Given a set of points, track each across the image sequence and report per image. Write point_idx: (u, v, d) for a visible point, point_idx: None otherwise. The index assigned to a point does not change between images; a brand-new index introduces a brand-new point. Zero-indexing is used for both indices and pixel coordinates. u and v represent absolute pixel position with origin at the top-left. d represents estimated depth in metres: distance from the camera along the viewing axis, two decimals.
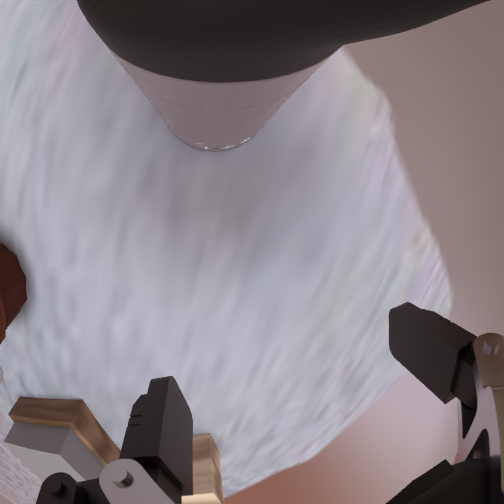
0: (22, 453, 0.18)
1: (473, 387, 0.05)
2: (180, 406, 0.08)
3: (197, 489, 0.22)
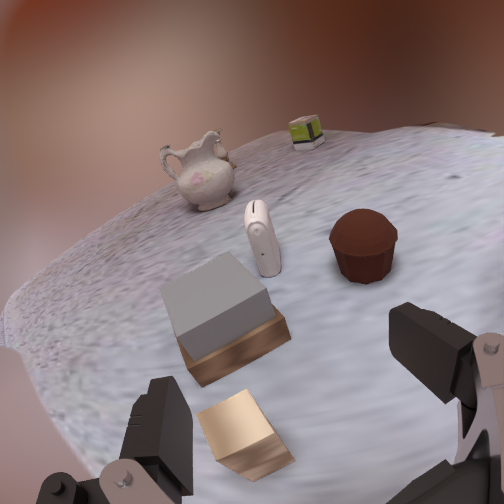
0: (225, 264, 0.40)
1: (473, 387, 0.05)
2: (180, 406, 0.08)
3: (265, 419, 0.19)
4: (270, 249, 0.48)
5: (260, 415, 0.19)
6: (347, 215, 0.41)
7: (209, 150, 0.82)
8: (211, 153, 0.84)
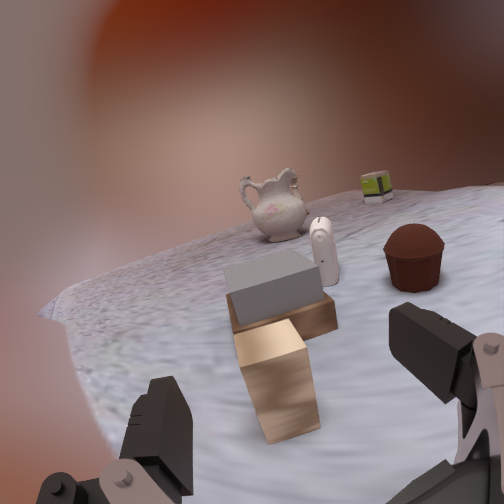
0: (286, 255, 0.45)
1: (473, 387, 0.05)
2: (180, 406, 0.08)
3: None
4: (330, 257, 0.50)
5: (296, 335, 0.21)
6: (400, 227, 0.42)
7: (285, 185, 0.93)
8: (287, 189, 0.94)
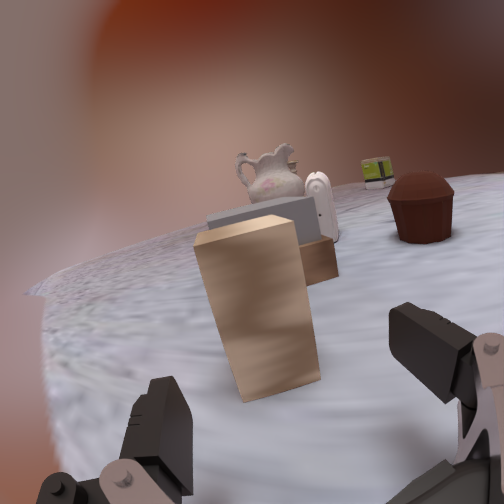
0: (277, 199, 0.39)
1: (474, 387, 0.05)
2: (180, 406, 0.08)
3: None
4: (328, 211, 0.45)
5: (280, 218, 0.15)
6: None
7: (283, 160, 0.88)
8: (285, 165, 0.89)
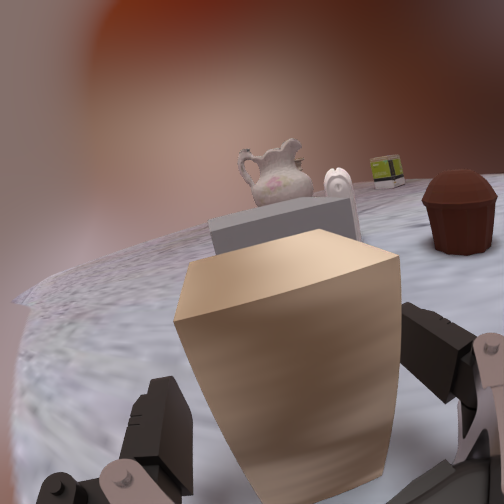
0: (296, 200, 0.31)
1: (474, 387, 0.05)
2: (180, 406, 0.08)
3: None
4: None
5: (352, 242, 0.08)
6: (441, 172, 0.29)
7: (290, 157, 0.80)
8: (292, 162, 0.81)
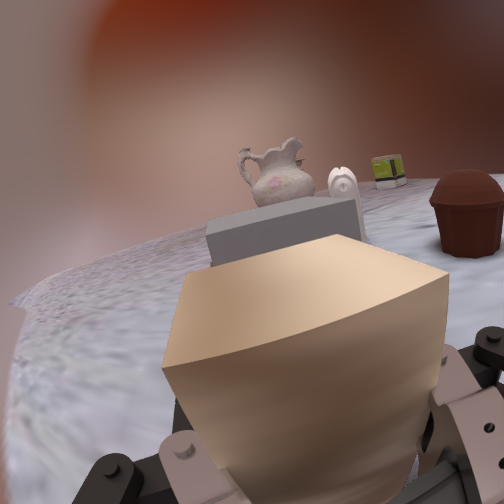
0: (300, 200, 0.30)
1: None
2: None
3: None
4: (358, 215, 0.35)
5: (384, 253, 0.06)
6: None
7: (291, 156, 0.78)
8: (293, 161, 0.80)
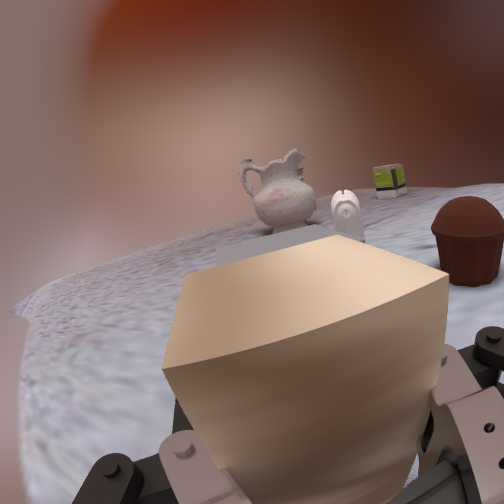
0: (308, 230, 0.30)
1: None
2: None
3: None
4: None
5: (384, 254, 0.06)
6: (451, 200, 0.28)
7: (293, 168, 0.79)
8: (295, 173, 0.80)
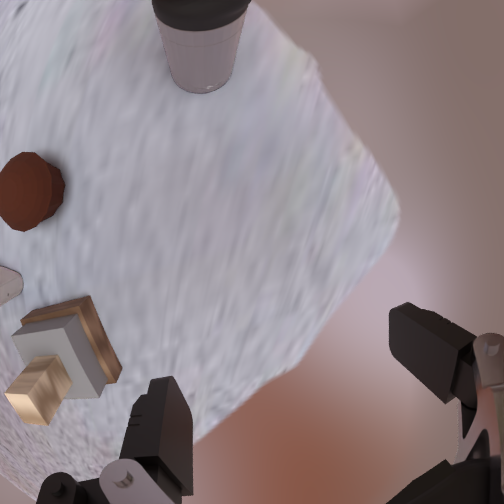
0: (26, 345, 0.29)
1: (474, 387, 0.05)
2: (180, 406, 0.08)
3: (20, 391, 0.21)
4: (4, 285, 0.30)
5: (18, 395, 0.20)
6: (1, 205, 0.25)
7: None
8: None
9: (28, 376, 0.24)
